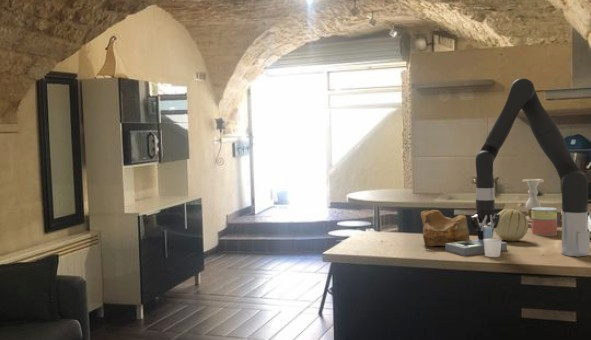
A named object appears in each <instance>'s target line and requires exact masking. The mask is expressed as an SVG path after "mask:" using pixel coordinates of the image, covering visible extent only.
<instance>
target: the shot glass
mask: <svg viewBox="0 0 591 340" xmlns="http://www.w3.org/2000/svg"><path fill="white" fill-rule="evenodd" d="M483 241H484V250H485V253H484V256H485V257H488V258H490V257H491V258H497V257H500V256H501V252H502V251H501V242H502V239H501V238H496V237H492V238H485V239H483Z"/></svg>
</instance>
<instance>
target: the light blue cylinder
mask: <svg viewBox="0 0 591 340" xmlns="http://www.w3.org/2000/svg"><path fill="white" fill-rule="evenodd" d="M480 228H481V227H480ZM477 238H478V237H477ZM485 238H493V237H492V228H491V226H487V224H485V226H484V229H483V239H485ZM478 242H480V243H484V241H483V240H479V238H478Z"/></svg>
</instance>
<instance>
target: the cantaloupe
mask: <svg viewBox="0 0 591 340" xmlns="http://www.w3.org/2000/svg"><path fill="white" fill-rule="evenodd" d="M497 214H499V215H500V217H499V221H498V225H497V228H494V229H493V231H494V233H495V234H496V235H497V237H499V239H501V240H504V242H505V241H506V242H516V241H519V240H521V239H523V238H524V237H525V236H526V234H527V233H528V230H529V227H528V220H527V218H526V216H527V215H525V214H524V213H523V212H522V211H520V210H517V209H516V208H515V207H512V208H505V209H502V210H501V211H499V212H497ZM494 224H495V223H494Z"/></svg>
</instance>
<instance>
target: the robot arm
mask: <svg viewBox="0 0 591 340" xmlns="http://www.w3.org/2000/svg"><path fill="white" fill-rule="evenodd" d="M510 85H511V86H510V87H509V88H510V89H509V93H508V95H507V99H506V101H505V103H504V106H503V107H502V109H501V112H500V114H499V115H498V117H497V118H496V120H495V121H494V123H493V125H492V127H491V128H490V131H489V133H488V135H487V136H486V138H485V142H484V144H483V145H482V147H481V149H480V150H479V152H478V153H477V155H476V156H475V173H476V178H475V179H476V180H475V181H476V182H475V185H476V187H475V210H476V213H475V215H470V220H471V224H472V227H473V229H474V230H475V231H477V238H479V240H483V229H484V226H485V225H486V226H491V228H492V238H494V237H493V236H494V235H493V234H494V232H493V231H494V228H497V225H498V221H499V217H500V215H499V214H498V213H496V212H495V211H494V210H495V206H496V205H495V204H496V203H495V200H496V199H495V198H496V197H495V196H496V195H495V181H494V180H495V178H494V162H495V159H496V158H497V155H498V154H499V151H500V149H501V148H502V146H503V145H504V143H505V141H506V140H507V137H508V136H509V134H510V132H511V130H512V127H513V125H514V123H515V121H516V119H517V117H518V115H519V113H520V111H522V112H523V114H524V115H525V117H526V119H527V123H528V125H529V127H530V130H531V132H532V135H533V136H534V138H535V140H536V142H537V143H538V146H539V147H540V149H541V150H542V151H543V153H544V154H545V156H546V157H547V158H548V160H549V161H550V162H551V164H552V165H553V166H554V168H555V170H556V172H557V175H558V177H559V179H560V182H561V254H562V255H564V256H570V257H585V256H590V247H591V245H590V234H591V233H590V231H589V230H588V206H589V181H588V178H587V176H586V175H585V174H584V172H583V171H581V169H580V168H579V166H578V165H577V163H576V162H575V161H574V159H573V157H572V155H571V152H570V150H569V147H568V145H567V142H566V141H565V138H564V136H563V134H562V133H561V131H560V129H559V128H558V126H557V123H555V121H554V119H553V118H552V117H551V115H550V114H549V113H548V112H547V110H546V109H545V108H544V107H543V105H542V103H541V101H540V99H539V96H538V94H537V92H536V89H535V85H534V83H533V82H532V80H531V79H528V78H525V77H523V78H522V77H521V78H518V79H516V80H514V81H513V82H512V83H511V84H510ZM494 223H495V224H494ZM480 227H481V228H480Z"/></svg>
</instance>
